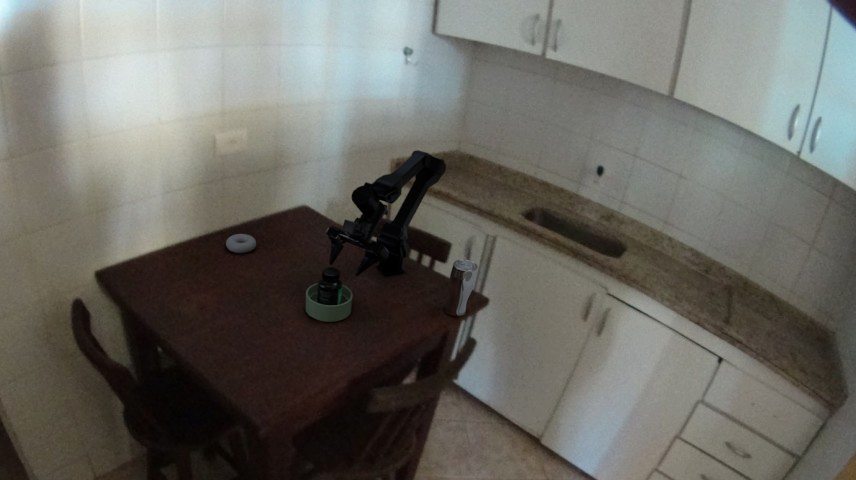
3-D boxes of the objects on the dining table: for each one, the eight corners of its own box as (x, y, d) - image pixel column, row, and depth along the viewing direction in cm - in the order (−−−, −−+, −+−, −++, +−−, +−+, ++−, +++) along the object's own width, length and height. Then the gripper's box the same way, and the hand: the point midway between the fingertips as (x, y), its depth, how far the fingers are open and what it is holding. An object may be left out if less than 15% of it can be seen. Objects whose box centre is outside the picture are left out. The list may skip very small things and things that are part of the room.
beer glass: (463, 320, 172) (473, 273, 163) (439, 312, 175) (448, 266, 166) (471, 309, 177) (482, 263, 168) (448, 302, 180) (457, 256, 171)
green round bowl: (338, 294, 181) (339, 278, 178) (359, 317, 172) (360, 300, 168) (298, 303, 177) (298, 287, 173) (317, 327, 167) (318, 310, 164)
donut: (224, 254, 199) (255, 255, 199) (223, 245, 197) (254, 245, 197) (228, 241, 207) (257, 241, 207) (227, 231, 205) (257, 232, 205)
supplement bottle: (344, 312, 173) (348, 274, 166) (323, 317, 170) (325, 279, 163) (333, 300, 178) (336, 263, 171) (312, 305, 175) (314, 268, 168)
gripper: (331, 198, 169) (305, 247, 169) (388, 218, 160) (359, 270, 160) (346, 216, 179) (321, 263, 179) (400, 235, 170) (374, 285, 169)
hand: (343, 269), depth 171 cm, fingers open, 9 cm apart
